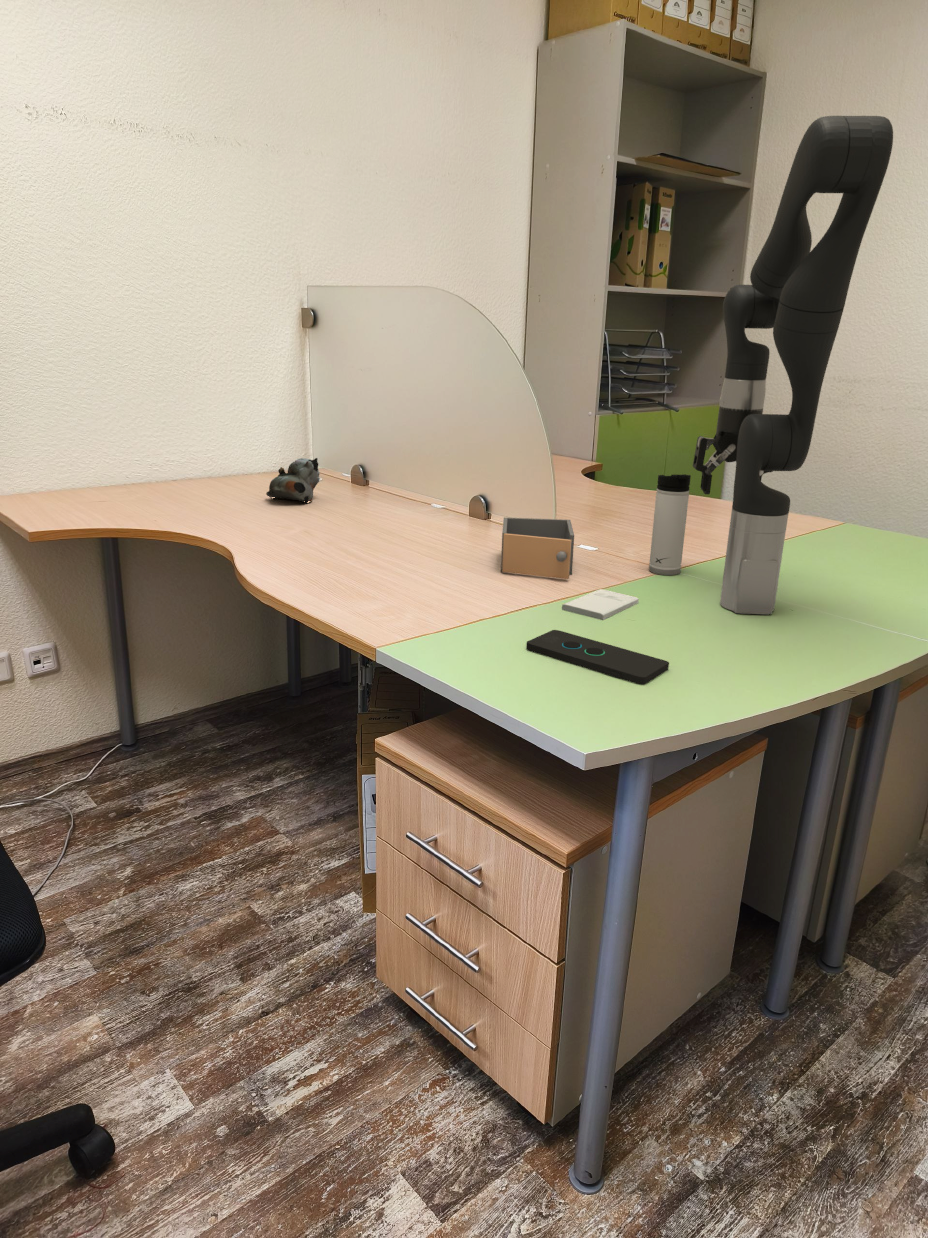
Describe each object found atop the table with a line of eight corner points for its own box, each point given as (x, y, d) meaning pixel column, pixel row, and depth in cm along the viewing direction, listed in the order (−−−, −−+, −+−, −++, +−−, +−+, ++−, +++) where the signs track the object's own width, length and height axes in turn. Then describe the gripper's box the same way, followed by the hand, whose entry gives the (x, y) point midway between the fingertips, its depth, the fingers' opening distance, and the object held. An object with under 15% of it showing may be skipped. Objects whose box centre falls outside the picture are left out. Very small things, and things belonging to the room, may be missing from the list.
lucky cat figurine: (263, 497, 231) (280, 450, 232) (305, 513, 235) (321, 467, 236) (268, 491, 217) (286, 441, 218) (312, 508, 220) (329, 459, 221)
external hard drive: (561, 612, 144) (598, 596, 153) (602, 623, 139) (638, 605, 149) (562, 603, 144) (599, 587, 153) (603, 613, 139) (639, 597, 148)
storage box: (571, 574, 164) (574, 535, 162) (500, 572, 165) (502, 532, 163) (568, 556, 178) (570, 519, 175) (502, 554, 178) (503, 517, 176)
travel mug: (658, 577, 164) (669, 475, 158) (643, 567, 170) (652, 469, 164) (687, 575, 166) (698, 474, 159) (670, 566, 172) (681, 469, 165)
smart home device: (555, 627, 131) (671, 660, 120) (554, 638, 132) (669, 671, 120) (524, 641, 125) (643, 677, 113) (523, 652, 126) (642, 689, 114)
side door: (566, 581, 159) (569, 542, 156) (500, 573, 163) (501, 535, 160) (569, 578, 161) (571, 539, 158) (503, 570, 165) (504, 533, 162)
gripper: (707, 406, 145) (696, 498, 151) (788, 408, 145) (774, 499, 151) (696, 401, 152) (686, 488, 158) (774, 402, 152) (761, 490, 158)
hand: (729, 494), depth 155 cm, fingers open, 8 cm apart
